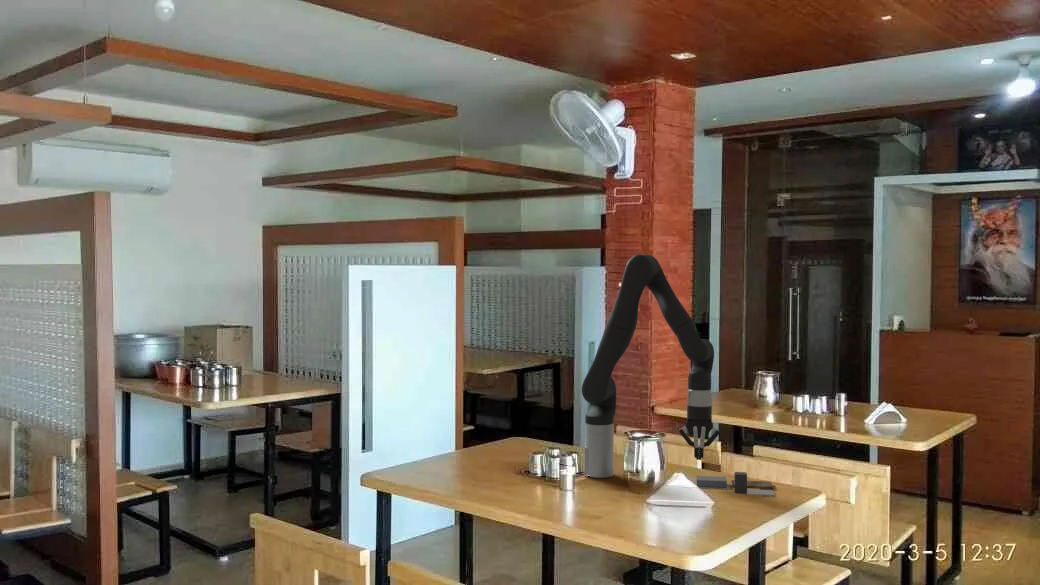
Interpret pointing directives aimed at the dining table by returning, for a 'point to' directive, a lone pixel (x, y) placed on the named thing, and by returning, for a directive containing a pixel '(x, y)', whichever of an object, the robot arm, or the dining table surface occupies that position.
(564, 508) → the dining table surface
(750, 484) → the rest board
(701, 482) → the tile
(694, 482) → the mat
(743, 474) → the turner
